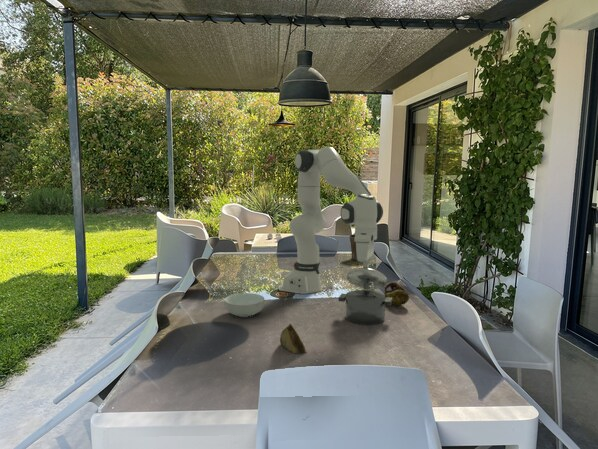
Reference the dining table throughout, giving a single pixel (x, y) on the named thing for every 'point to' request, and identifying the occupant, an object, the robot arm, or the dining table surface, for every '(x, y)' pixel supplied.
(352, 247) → the plant pot
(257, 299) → the cereal bowl
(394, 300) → the potato
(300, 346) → the rock
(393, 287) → the pottery mug
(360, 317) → the pot
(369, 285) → the lid
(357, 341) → the dining table surface
